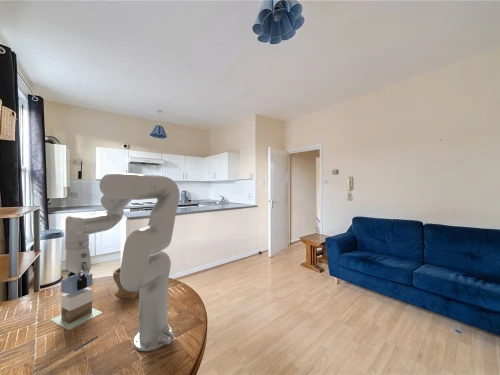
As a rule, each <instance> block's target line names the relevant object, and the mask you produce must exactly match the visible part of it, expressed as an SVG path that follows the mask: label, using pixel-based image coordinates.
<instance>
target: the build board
mask: <svg viewBox="0 0 500 375" xmlns="http://www.w3.org/2000/svg"><path fill="white" fill-rule="evenodd" d="M101 314H103V311H100V310H98V309H96V308H94V307H92V313H90V314H88V315H86V316H84V317H82V318H80V319H78V320H76V321H74V322H72V323H70V324H69V323H67V322H65V321H63V320H62V319H61V314H59V315H57V316H55V317H53V318H50V321H52V322H53V323H54V324H55V323H56V324H57V325H59V326H60V327H62V328H63V329H66V330H67V331H70V330H72V329H74V328H75V327H77V326H79V325H82V324H83V323H85V322H87V321H89V320H91V319H93V318H95V317H97V316H98V315H101Z"/></svg>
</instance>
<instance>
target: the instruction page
mask: <svg viewBox="0 0 500 375" xmlns="http://www.w3.org/2000/svg"><path fill="white" fill-rule="evenodd" d="M97 339H99V336H95V337H93V338H92V339H90V340H89V341H87V342H85V343H83V344H82V345H80V346H79V347H76V348H75V349H74V350H73V351H74V352H77V351H79V350H80V349H82V348H84V347H86V346H87V345H88V344H90V343H92V342H94V341H95V340H97Z"/></svg>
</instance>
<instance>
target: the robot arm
mask: <svg viewBox="0 0 500 375" xmlns="http://www.w3.org/2000/svg"><path fill="white" fill-rule="evenodd" d="M98 186H99V190H100V192H101V194H102V196H101V197H100V204H101V206H102V208H104V209H105V210H106V212H103V213H97V214H91V215H88V214H81V213H80V214H70V215H68V216H66V218H65V230H64V231H65V237H64V238H65V241H64V242H65V246H64V247H65V248H64V249H65V251H66V252H65V263H64V264H65V265H64V266H65V270H66V272H67V274H66V276H67V277H70V276H72V275H75V274H77V276H78V281H77V290H81V289H84V288H86V287H87V278H88V274H89V273H91V268H92V265H91V264H92V263H91V252H90V247H89V246H90V244H89V243H90V235H93V234H97V233H101V232H106V231H109V230H111V229H113V228H114V227H116V226H117V224H119V222H120V221H122V219H123V217H124V211H125V210H124V209H125V207H127V206H128V205H129V203H131V202H132V200H134V201H135V200H136V201H141V200H142V201H143V200H155V199H156V202H155V204H154V205H153V207H152V209H151V211H150V214H149V220H148V223H147V226H145V227H141V228H137V229H135V230H134V231H131V233H130V234H129V235H128V236H127V238H126V240H125V242H124V245H123V246H124V247H123V252H122V255H121V256H122V257H121V264H120V267H121V268H120V267H119V268H120V282H121V285H122V287H123V288H124V289H125V290H127V291H130V292H133V291H137V290H140V293H139V298H138V333H137V334H136V335H135V337H134V338H133V347H134V348H135V349H136V350H137V351H140V352H150V351H154V350H158V349H160V348H161V347H163V346H164V345H170V344H171V342H172V341H173V340H172V338H173V337H174V336H175V333H174V332H173V330H172V328H171V326H170V325H169V324H168V313H169V312H168V308H169V307H168V302H169V300H168V297H169V296H168V295H169V291H168V290H169V279H170V274H171V267H172V263H171V258H170V256H169V254H168V253H167V252H165V251H164V250H165V249H166V248H168V247H169V246H170V244H171V242H172V239H173V233H174V228H175V222H176V216H177V212H178V207H179V203H180V197H181V196H180V195H181V193H180V188H179V186H178V184H177V183H176V182H175V181H174V180H173V179H172V178H170V177H168V176H164V175H159V174H141V173H128V172H116V171H115V172H114V171H113V172H109V173H106V174H104V175H103V176H102V177H101V179H100V181H99V184H98ZM81 273H84V274H82V276H81V275H80V274H81Z"/></svg>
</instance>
